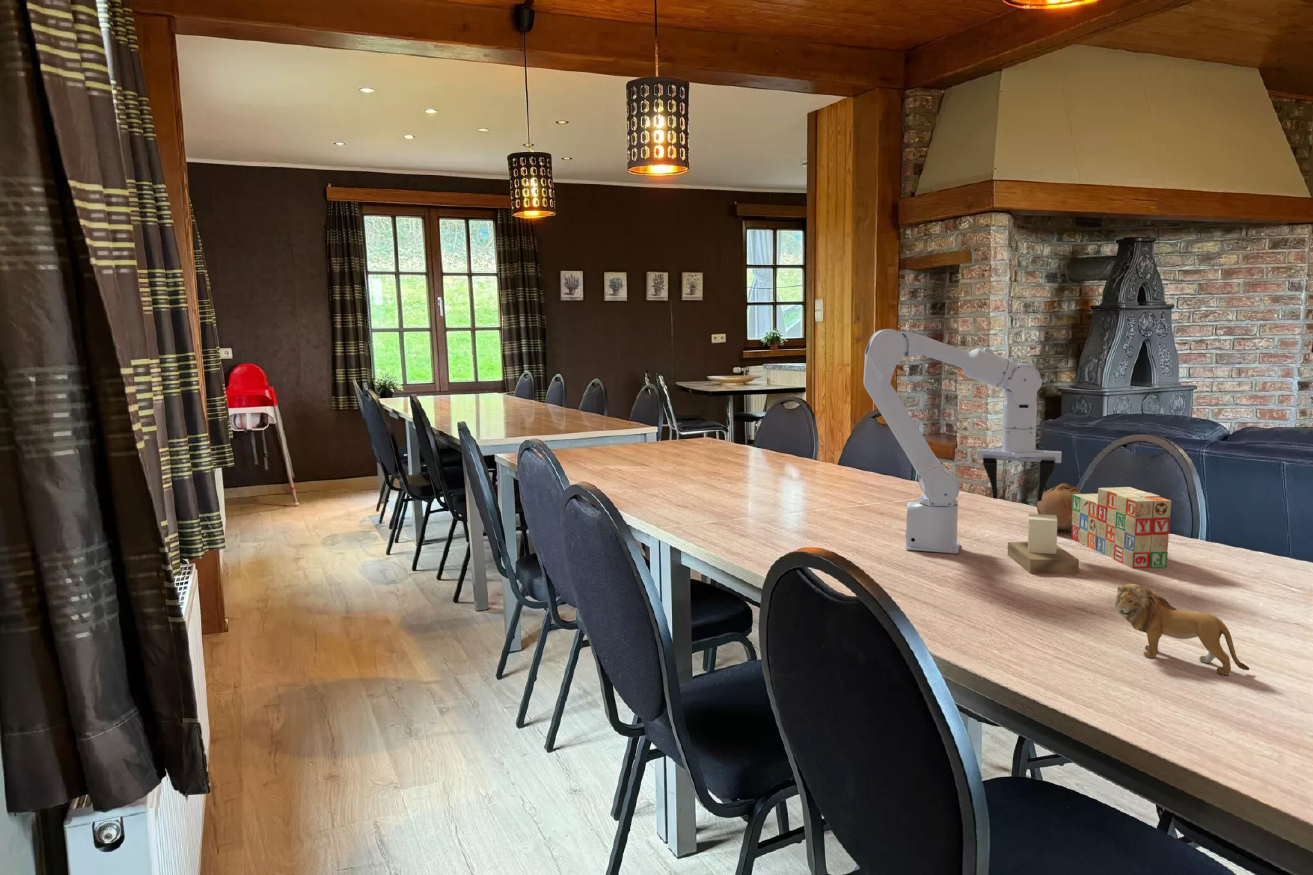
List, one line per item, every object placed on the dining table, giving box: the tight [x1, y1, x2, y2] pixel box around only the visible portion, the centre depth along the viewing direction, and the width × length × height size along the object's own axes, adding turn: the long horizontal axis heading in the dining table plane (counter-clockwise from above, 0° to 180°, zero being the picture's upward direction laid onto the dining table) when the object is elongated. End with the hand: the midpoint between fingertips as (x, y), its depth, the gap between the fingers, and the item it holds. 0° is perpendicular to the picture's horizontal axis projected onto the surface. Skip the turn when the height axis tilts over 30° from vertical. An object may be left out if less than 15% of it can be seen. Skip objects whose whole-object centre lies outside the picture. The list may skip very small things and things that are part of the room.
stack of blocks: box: [1071, 486, 1172, 569], centre depth 155 cm, size 21×6×12 cm, turn 1°
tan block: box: [1007, 541, 1080, 575], centre depth 149 cm, size 8×12×3 cm, turn 174°
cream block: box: [1027, 513, 1058, 554], centre depth 149 cm, size 4×4×6 cm
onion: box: [1036, 482, 1082, 532], centre depth 172 cm, size 10×9×10 cm
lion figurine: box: [1114, 583, 1250, 676], centre depth 105 cm, size 15×5×9 cm, turn 52°
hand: (1017, 498), depth 158 cm, fingers open, 7 cm apart
